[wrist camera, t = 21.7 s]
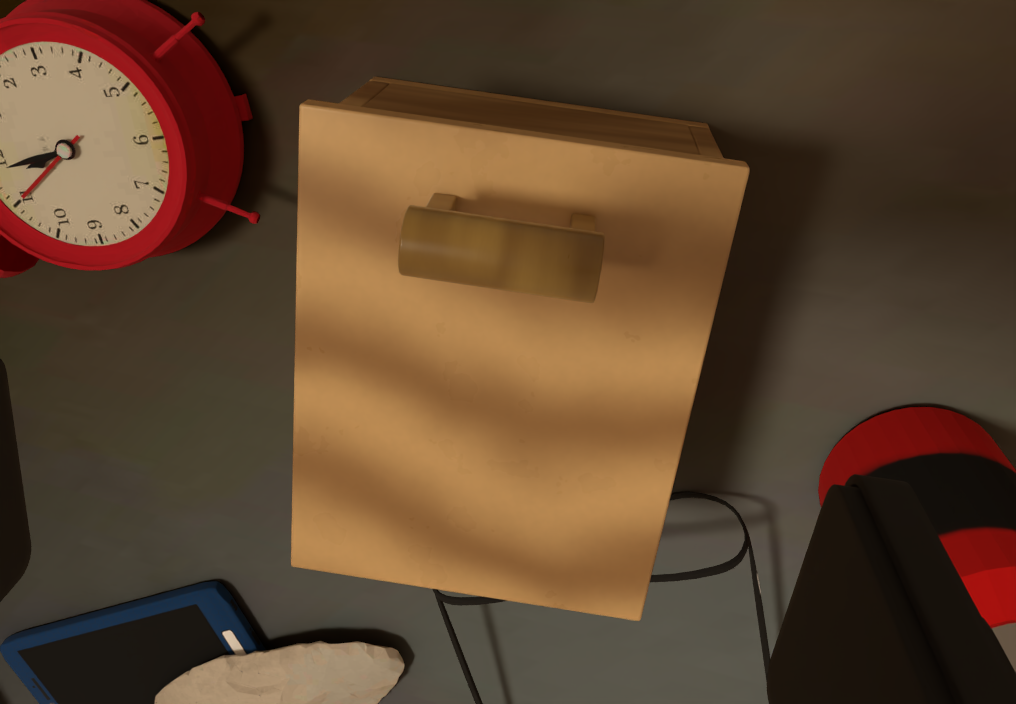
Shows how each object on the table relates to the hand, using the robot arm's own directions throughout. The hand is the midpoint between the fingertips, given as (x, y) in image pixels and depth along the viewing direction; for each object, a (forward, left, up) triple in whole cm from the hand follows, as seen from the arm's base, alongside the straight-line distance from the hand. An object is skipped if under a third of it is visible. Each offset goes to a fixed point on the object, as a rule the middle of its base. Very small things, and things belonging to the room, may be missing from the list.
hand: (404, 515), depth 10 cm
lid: (+8, 0, -17) cm, 19 cm away
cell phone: (+32, -17, -26) cm, 45 cm away
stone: (+32, -9, -26) cm, 42 cm away
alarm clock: (+4, -18, -26) cm, 32 cm away
